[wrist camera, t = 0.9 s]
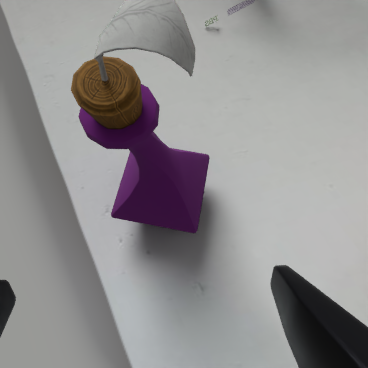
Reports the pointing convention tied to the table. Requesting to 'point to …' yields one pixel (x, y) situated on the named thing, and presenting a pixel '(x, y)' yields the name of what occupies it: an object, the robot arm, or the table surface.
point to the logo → (227, 11)
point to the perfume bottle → (142, 117)
